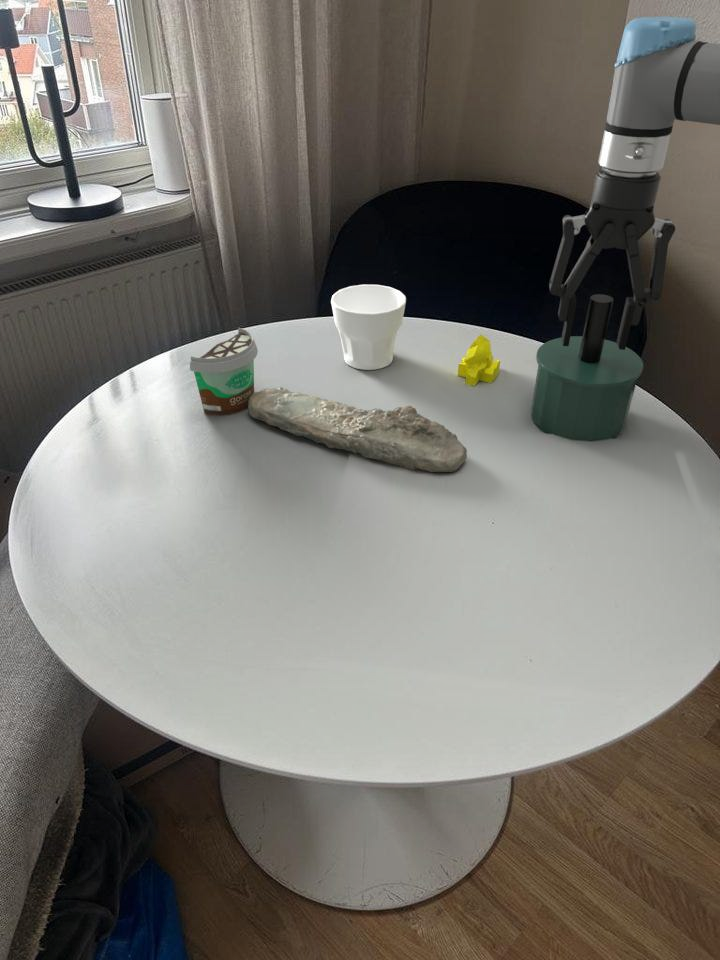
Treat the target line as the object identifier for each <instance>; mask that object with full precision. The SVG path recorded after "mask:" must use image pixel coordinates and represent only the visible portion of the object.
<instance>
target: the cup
mask: <svg viewBox="0 0 720 960" xmlns="http://www.w3.org/2000/svg"><path fill="white" fill-rule="evenodd" d="M406 303H407V297H406V295H405V294H404V293H403V292H402V291H400V290H398V289H396V288H394V287H391V286H386V285H381V284H358V285H350V286H347V287H344V288H341V289H338V291H336V292H334V293H333V295H332V296H331V300H330V304H331V310H332V314H333V320H334V325H335V327H336V329H337V330H338V333H339V338H340V342H341V347H342V352H343V360H344V362H345V364H346V365H348V366H350V367H352V368H353V369H358V370H360V371H361V370H362V371H375V370H381V369H384V368H386V367H388V366H389V365H391V363H392V362H393V359H394V348H395V343H396V338H397V334H398V331H399V330H400V328H401V327H402V325H403V320H404V316H405V315H404V314H405V309H406Z"/></svg>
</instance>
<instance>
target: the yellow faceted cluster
mask: <svg viewBox="0 0 720 960" xmlns="http://www.w3.org/2000/svg"><path fill="white" fill-rule="evenodd" d="M500 364H501V359H497V360H494V355H493V353H492V347H491V340H490V339H488V338H487V337H486V336H484V335H483V334H481V333H480V334H479V335H478V336H477V337H476V339H475V340H474V341H473V342H472V343H471V344H470V345H469V347H468V349H467V352H466V355H465V357H462V358H461V363H458V367H457V376H458V377H462V378H465V385H467V386H472V387H475V386H477V384H478V383H479V382H480V381H481V382H485V383H488V384H492V383H493V382H494V380H495V379H496V378H497V376H498V375H499V372H500V366H501V365H500Z"/></svg>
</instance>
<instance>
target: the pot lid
mask: <svg viewBox="0 0 720 960" xmlns="http://www.w3.org/2000/svg"><path fill="white" fill-rule="evenodd" d="M613 304H614V298H613V297H612V296H610V295H608V294H600V293H599V294H598V293H597V294H593V295H591V296H590V297H589V301H588V308H587V312H586V317H585V321H584V327H583V332H582V335H581V336H579V335H576V336H575V335H574V336H570V341H569V346H563V343H562V337H558V338H554V339H550V340H548V341H546V342H544V343H542V345H540V346H539V348H538V349H537V351H536V355H535V360H536V363H537V366H538V365H539V366H540V367H541V369H543V370H544V371H545V372H546V373H548V374H549V375H551V376H553V377H555V378H557V379H559V380H562V381H564V382H568V383H571V384H575V385H580V386H586V387H598V388H606V387H617V386H622V385H626V384H629V383H631V382H633V381H635V380H636V379H637V380H638V379H639V378H640V377H641V375H642V373H643V370H644V363H643V362H644V361H643V360H642V358H641V357H640V356H639V355H638V354H637V353H636V352H635V351H633V350H632V349H631V348H629V347H627V346H626V347H625V350H620V349H619V347H618V344H617V342H616V341H612V340H608V339H606V336H607V331H608V326H609V321H610V318H611V312H612V309H613Z"/></svg>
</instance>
